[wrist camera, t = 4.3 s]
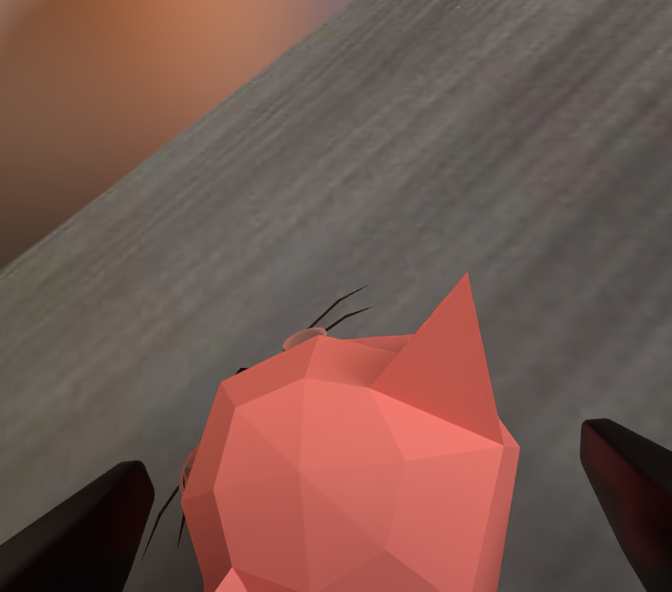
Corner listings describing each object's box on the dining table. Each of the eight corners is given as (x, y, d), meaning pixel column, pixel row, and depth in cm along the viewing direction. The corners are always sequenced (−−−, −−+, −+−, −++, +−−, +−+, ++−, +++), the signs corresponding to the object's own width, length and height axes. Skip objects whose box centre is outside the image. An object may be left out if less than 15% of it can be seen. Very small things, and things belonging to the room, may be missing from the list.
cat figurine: (364, 352, 17) (284, 126, 6) (517, 465, 14) (854, 424, 4) (248, 498, 15) (-136, 546, 4) (398, 655, 13) (342, 1638, 2)
